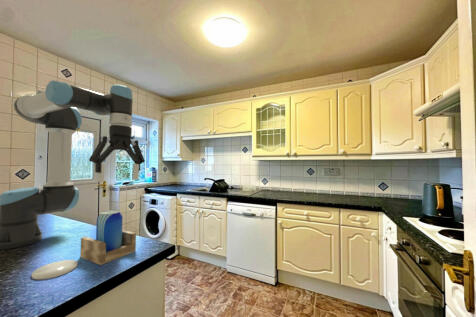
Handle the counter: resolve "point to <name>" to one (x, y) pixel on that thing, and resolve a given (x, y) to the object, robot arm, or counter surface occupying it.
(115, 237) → the beer can
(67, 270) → the trivet
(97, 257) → the oak holder
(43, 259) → the counter surface
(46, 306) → the counter surface
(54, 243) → the counter surface
